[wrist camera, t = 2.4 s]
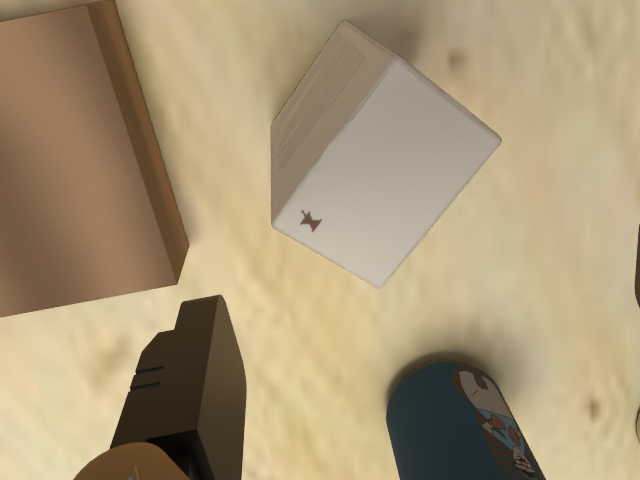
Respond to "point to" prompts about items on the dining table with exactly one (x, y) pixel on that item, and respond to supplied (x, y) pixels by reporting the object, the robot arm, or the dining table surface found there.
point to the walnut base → (79, 167)
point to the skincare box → (369, 156)
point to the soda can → (456, 427)
